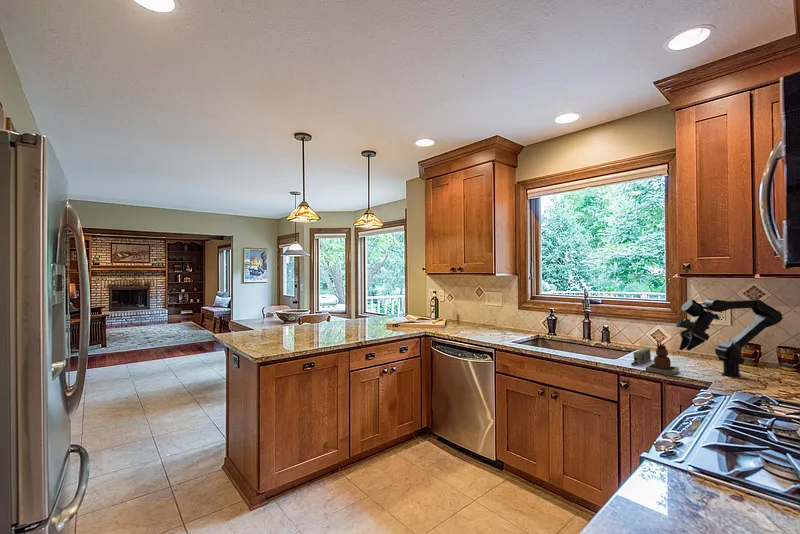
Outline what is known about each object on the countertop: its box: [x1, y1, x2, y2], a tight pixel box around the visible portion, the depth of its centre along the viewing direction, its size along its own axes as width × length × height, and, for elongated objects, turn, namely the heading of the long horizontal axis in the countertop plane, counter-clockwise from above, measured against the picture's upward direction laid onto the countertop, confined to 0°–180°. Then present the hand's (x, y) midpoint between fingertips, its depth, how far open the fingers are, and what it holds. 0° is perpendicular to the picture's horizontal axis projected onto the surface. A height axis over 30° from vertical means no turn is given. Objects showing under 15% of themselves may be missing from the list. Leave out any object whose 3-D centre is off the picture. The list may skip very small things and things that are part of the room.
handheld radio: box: [630, 347, 652, 366], centre depth 211 cm, size 7×3×25 cm
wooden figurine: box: [653, 340, 672, 370], centre depth 190 cm, size 7×6×15 cm
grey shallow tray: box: [645, 363, 680, 376], centre depth 190 cm, size 11×12×2 cm
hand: (683, 349), depth 183 cm, fingers open, 9 cm apart
